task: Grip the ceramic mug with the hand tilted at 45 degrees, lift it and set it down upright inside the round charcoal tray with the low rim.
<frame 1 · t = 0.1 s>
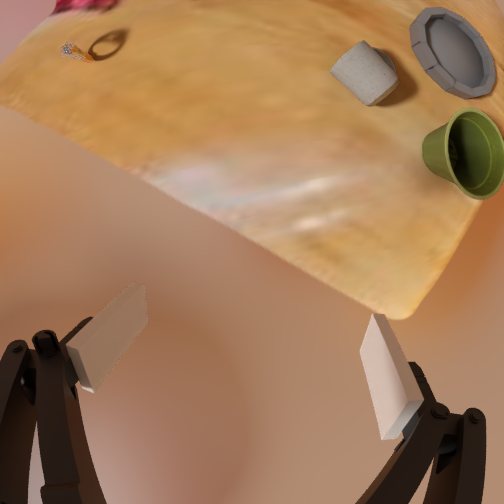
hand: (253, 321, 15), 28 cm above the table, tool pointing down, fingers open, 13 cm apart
ceramic mug: (363, 75, 33), on the table
round tray: (451, 53, 28), on the table
ring: (91, 58, 35), on the table
plant pot: (438, 152, 35), on the table
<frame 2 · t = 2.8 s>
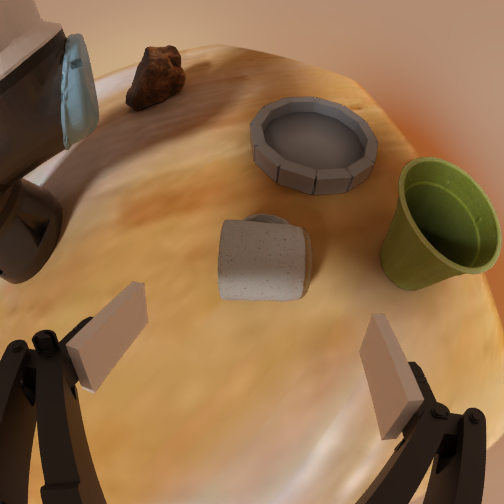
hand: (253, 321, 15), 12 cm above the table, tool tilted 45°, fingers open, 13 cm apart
ceramic mug: (261, 264, 30), on the table
round tray: (313, 146, 36), on the table
plant pot: (404, 261, 29), on the table
decorative rock: (159, 98, 44), on the table
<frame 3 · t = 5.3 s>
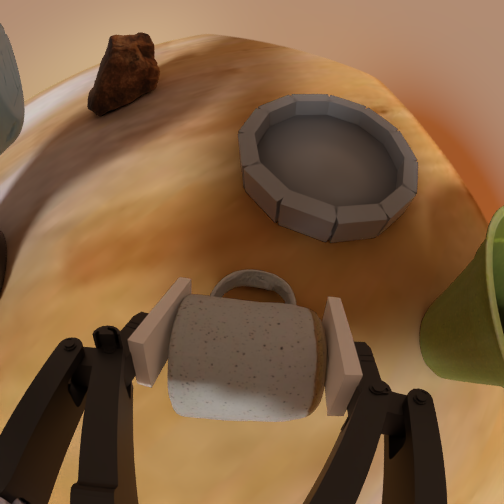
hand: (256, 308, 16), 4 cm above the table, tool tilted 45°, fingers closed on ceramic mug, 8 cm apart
ceramic mug: (247, 346, 19), on the table, touching gripper
round tray: (327, 164, 26), on the table
plant pot: (447, 337, 18), on the table
decorative rock: (129, 99, 34), on the table
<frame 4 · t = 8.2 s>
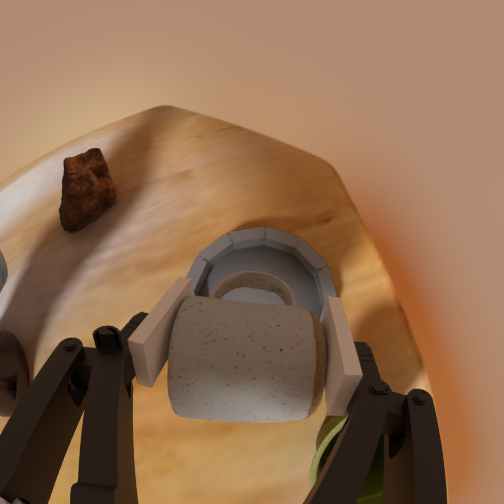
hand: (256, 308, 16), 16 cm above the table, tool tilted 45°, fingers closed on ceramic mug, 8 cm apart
ceramic mug: (247, 347, 19), point 12 cm above the table, touching gripper
round tray: (259, 303, 33), on the table
plant pot: (343, 438, 26), on the table
decorative rock: (95, 209, 40), on the table
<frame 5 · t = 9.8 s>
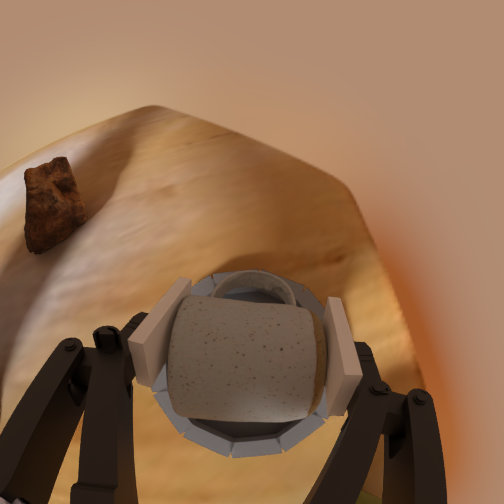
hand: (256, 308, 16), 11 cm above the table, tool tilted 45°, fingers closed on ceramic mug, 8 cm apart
ceramic mug: (247, 346, 19), point 7 cm above the table, touching gripper
round tray: (246, 365, 25), on the table
decorative rock: (65, 227, 33), on the table
when the fingers open (6 cm above the table, at t = 11.1 s): ceramic mug drops 1 cm, resting on round tray.
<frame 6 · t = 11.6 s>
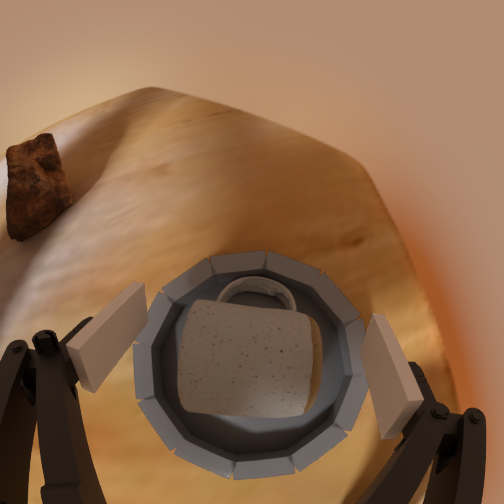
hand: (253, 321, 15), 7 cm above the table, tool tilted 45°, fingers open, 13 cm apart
ceramic mug: (249, 347, 21), point 1 cm above the table, touching round tray
round tray: (251, 367, 21), on the table
decorative rock: (50, 212, 28), on the table
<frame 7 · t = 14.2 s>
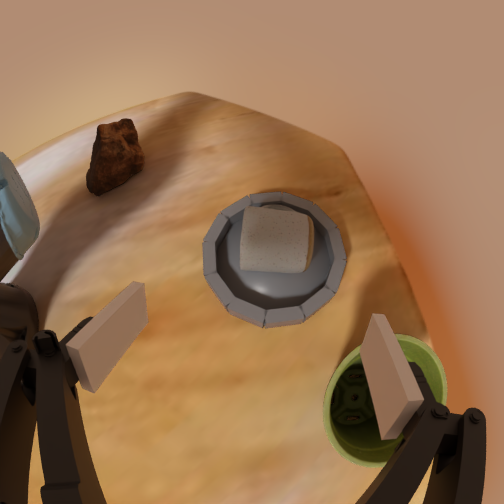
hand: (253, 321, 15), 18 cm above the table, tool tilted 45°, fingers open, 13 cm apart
ceramic mug: (272, 245, 36), point 1 cm above the table, touching round tray
round tray: (273, 260, 36), on the table
plant pot: (351, 396, 28), on the table
decorative rock: (121, 176, 44), on the table
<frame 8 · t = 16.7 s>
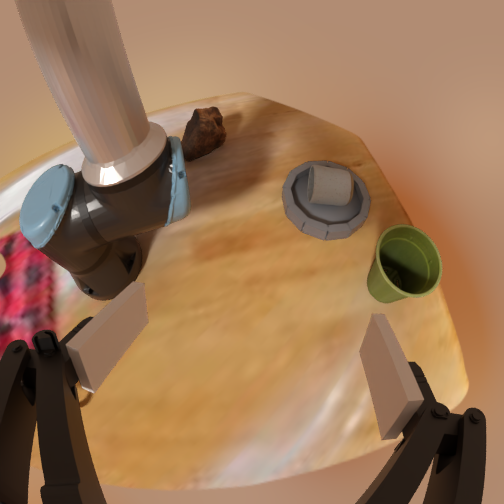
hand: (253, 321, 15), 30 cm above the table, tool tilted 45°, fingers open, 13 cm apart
ceramic mug: (324, 192, 54), point 1 cm above the table, touching round tray
round tray: (325, 202, 54), on the table
plant pot: (383, 284, 46), on the table
decorative rock: (204, 149, 62), on the table
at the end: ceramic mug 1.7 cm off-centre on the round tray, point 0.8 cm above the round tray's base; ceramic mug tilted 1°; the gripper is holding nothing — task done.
